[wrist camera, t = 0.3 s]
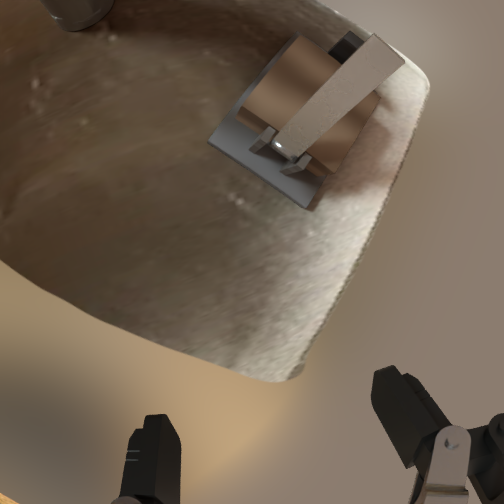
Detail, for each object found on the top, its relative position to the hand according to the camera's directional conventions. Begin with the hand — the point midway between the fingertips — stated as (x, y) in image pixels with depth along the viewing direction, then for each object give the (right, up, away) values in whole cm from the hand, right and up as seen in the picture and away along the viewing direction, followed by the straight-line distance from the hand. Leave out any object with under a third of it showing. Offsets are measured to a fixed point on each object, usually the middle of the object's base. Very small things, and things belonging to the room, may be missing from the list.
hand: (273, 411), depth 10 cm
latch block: (+5, +23, +25) cm, 35 cm away
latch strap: (+6, +19, +13) cm, 23 cm away
